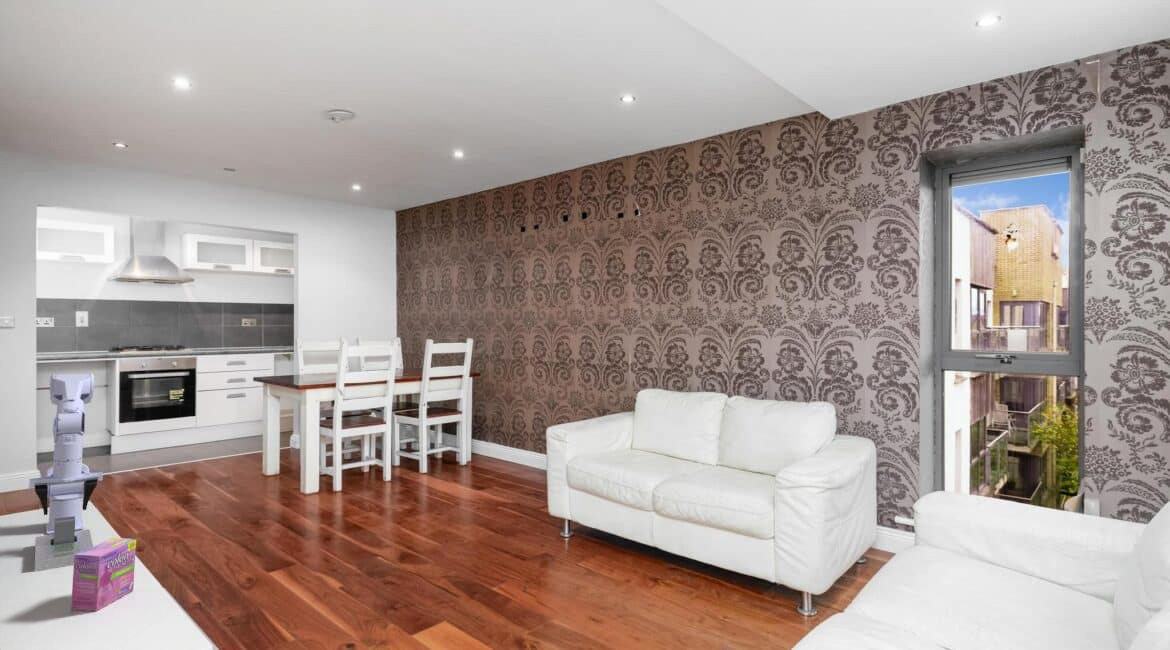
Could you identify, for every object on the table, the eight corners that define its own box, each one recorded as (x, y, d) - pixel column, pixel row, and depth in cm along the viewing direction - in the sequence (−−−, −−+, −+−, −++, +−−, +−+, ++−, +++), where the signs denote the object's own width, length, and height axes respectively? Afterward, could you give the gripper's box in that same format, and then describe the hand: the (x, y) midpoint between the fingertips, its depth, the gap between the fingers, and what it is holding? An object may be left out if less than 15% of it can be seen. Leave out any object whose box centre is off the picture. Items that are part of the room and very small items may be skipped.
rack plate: (35, 546, 161) (35, 536, 161) (88, 538, 168) (89, 528, 168) (34, 571, 146) (35, 560, 146) (93, 561, 153) (94, 550, 153)
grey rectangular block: (53, 549, 159) (54, 518, 159) (73, 546, 162) (74, 516, 162) (53, 554, 156) (54, 522, 156) (73, 551, 159) (75, 520, 159)
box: (96, 612, 128) (99, 555, 128) (70, 610, 128) (73, 554, 128) (134, 590, 138) (137, 538, 138) (109, 589, 138) (112, 537, 138)
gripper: (30, 465, 151) (27, 520, 151) (104, 459, 161) (101, 510, 161) (30, 460, 157) (27, 513, 156) (102, 454, 166) (99, 504, 166)
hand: (65, 511), depth 159 cm, fingers open, 7 cm apart
